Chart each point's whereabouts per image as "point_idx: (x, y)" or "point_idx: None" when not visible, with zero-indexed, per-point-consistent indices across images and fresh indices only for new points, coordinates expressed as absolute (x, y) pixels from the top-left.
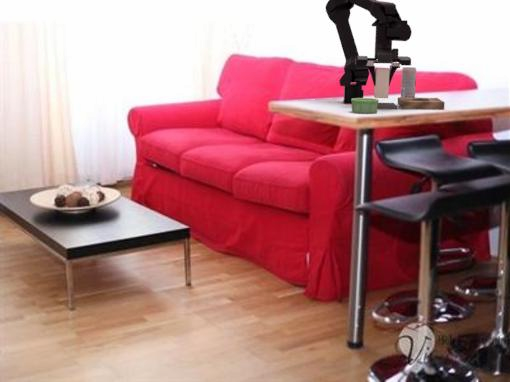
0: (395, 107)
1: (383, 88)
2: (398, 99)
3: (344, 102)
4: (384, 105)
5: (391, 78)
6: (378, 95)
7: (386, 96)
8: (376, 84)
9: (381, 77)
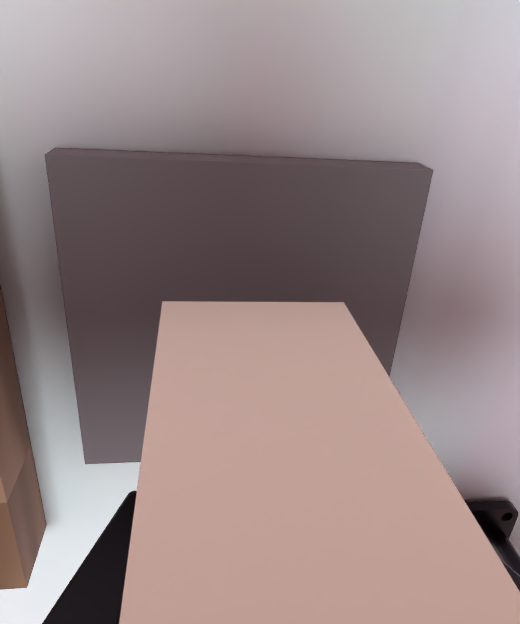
0: (72, 152)
1: (250, 380)
2: (24, 538)
3: (514, 508)
4: (215, 210)
5: (54, 621)
6: (309, 319)
7: (187, 312)
8: (407, 428)
9: (356, 566)
